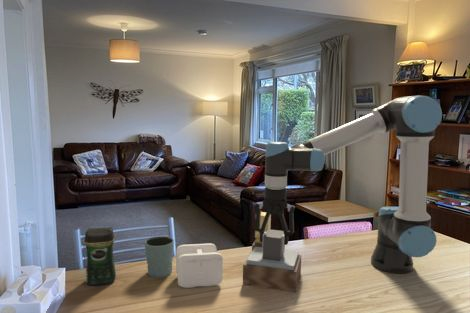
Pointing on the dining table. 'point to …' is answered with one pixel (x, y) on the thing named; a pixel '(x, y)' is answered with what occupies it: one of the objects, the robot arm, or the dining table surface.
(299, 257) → the walnut box
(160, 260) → the teal cup
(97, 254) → the coffee jar
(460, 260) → the dining table surface
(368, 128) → the robot arm
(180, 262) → the white rounded double-panel block
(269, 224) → the pale yellow upright block
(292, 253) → the cover
